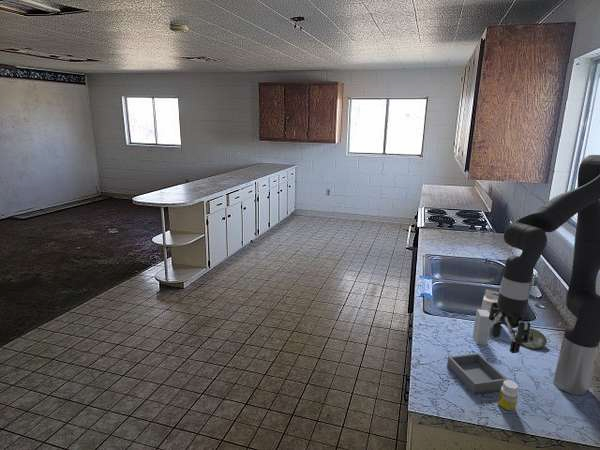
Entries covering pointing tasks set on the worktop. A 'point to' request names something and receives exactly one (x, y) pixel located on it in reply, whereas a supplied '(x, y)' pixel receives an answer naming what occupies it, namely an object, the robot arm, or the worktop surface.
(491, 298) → the ink cartridge box
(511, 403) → the supplement bottle
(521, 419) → the worktop surface
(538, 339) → the lid
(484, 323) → the skincare box
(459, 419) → the worktop surface
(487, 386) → the tray
